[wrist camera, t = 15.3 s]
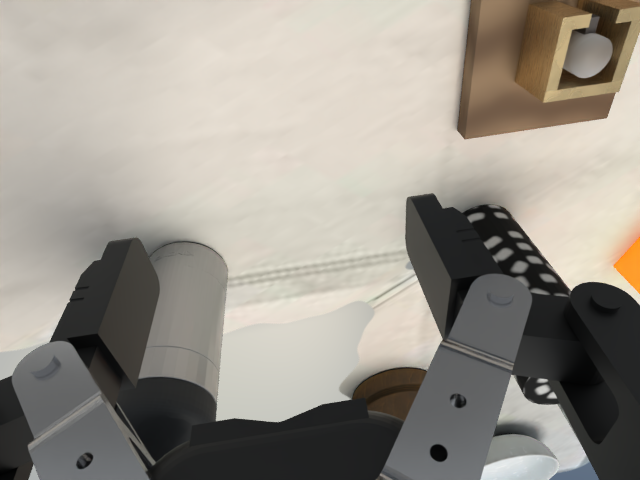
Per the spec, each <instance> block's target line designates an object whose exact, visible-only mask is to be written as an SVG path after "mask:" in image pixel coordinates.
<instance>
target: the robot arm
mask: <svg viewBox="0 0 640 480" xmlns="http://www.w3.org/2000/svg"><path fill="white" fill-rule="evenodd" d="M405 239H406V248H407V252H408V256H409V258H410V261H411V263H412V265H413V268H414V271H415V273H416V275H417V278H418V280H419V283H420V285H421V288H422V290H423V292H424V295H425V297H426V300H427V302H428V304H429V307H430V309H431V312H432V314H433V317H434V319H435V321H436V324H437V326H438V329H439V331H440V334H441V336H442V338H443V340H442V341H441V343H440V345H439V347H438V349H437V351H436V353H435V355H434V358H433V360H432V362H431V364H430V366H429V369H428V371H427V373H426V375H425V378H424V380H423V382H422V384H421V386H420V389H419V391H418V393H417V395H416V397H415V400H414V402H413V404H412V406H411V408H410V411H409V413H408V415H407V417H406V420H405V421H403V420H401V419H399V418H397V417H395V416H392V415H389V414H386V413H381V412H377V411H369V410H368V409H367V405H366V400H365V398H360V399H354V400H348V401H341V402H335V403H329V404H323V405H320V406H318V407H316V408H313V409H311V410H308V411H306V412H304V413H301V414H299V415H297V416H294V417H292V418H290V419H287V420H285V421H282V422H266V421H256V420H245V419H229V420H222V421H216V410H217V395H218V384H219V383H218V382H219V369H220V358H221V347H222V336H223V324H224V313H225V301H226V291H227V280H228V270H227V266H226V264H225V262H224V261H223V259H222V258H221V257H220V256H219V255H218V254H217V253H216V252H214V251H213V250H211V249H210V248H207V247H205V246H203V245H199V244H195V243H188V242H180V243H172V244H168V245H166V246H163V247H161V248H159V249H158V250H157V251H155V252H154V253H153V254H152V255H151V257H150V258H149V257H148V255H147V253H146V251H145V249H144V246H143V244H142V243H141V241H140V240H139V239H138V238H129V239H123V240H116V241H110V242H109V243H108V245H107V247H106V249H105V251H104V253H103V256H102V258H101V260H98V261H94V262H93V263H92V264H91V265H90V266H89V267H88V268H87V269H86V270H85V271H84V272H83V273H82V274H81V276H80V279H79V281H78V283H77V285H76V287H75V291H73V293H72V296H71V298H70V302H69V303H68V304H67V306H66V308H65V310H64V312H63V315H62V317H61V319H60V321H59V323H58V325H57V327H56V329H55V332H54V334H53V336H52V338H51V340H50V342H49V343H47V344H45V345H42V346H40V347H38V348H37V349H35V350H33V351H32V352H30V353H29V354H28V355H27V356H25V357H24V358H23V359H22V360H21V362H20V363H19V364H18V365H17V367H16V368H15V371H14V373H13V375H12V376H10V377H8V378H5V379H3V380H0V480H28V479H29V476H30V473H31V470H32V467H33V464H34V466H35V468H36V471H37V473H38V476H39V479H40V480H480V479H481V476H482V472H483V469H484V465H485V462H486V459H487V455H488V452H489V448H490V445H491V442H492V438H493V435H494V431H495V428H496V425H497V421H498V418H499V414H500V411H501V407H502V404H503V401H504V397H505V394H506V390H507V387H508V384H509V380H510V377H511V375H518V376H525V377H533V378H540V379H547V380H548V382H549V384H550V386H551V388H552V390H553V391H554V393H555V395H556V397H557V399H558V401H559V403H560V405H561V407H562V409H563V411H564V413H565V414H566V416H567V418H568V420H569V422H570V424H571V426H572V428H573V430H574V432H575V434H576V436H577V438H578V439H579V441H580V443H581V445H582V447H583V449H584V451H585V453H586V455H587V457H588V459H589V461H590V463H591V464H592V466H593V468H594V470H595V472H596V474H597V476H598V478H599V480H640V305H639V304H638V303H637V302H636V301H635V300H634V299H633V298H632V297H631V296H630V295H629V294H628V293H626V292H625V291H623V290H621V289H619V288H617V287H615V286H612V285H609V284H605V283H599V282H587V283H582V284H579V285H578V286H576V287H575V288H574V289H573V290H572V291H571V293H570V296H569V297H567V296H556V295H545V294H537V293H533V292H530V291H529V289H528V288H527V287H526V286H525V285H524V284H523V283H522V282H520V281H519V280H517V279H515V278H513V277H510V276H507V275H504V274H503V272H502V271H501V269H500V268H499V266H498V264H497V263H496V261H495V260H494V258H493V257H492V255H491V254H490V252H489V250H488V249H487V247H486V246H485V244H484V243H483V241H482V240H480V237H479V235H478V233H477V232H476V230H474V227H473V226H472V224H471V223H470V221H469V219H468V218H467V216H465V215H464V214H462V213H461V212H459V211H458V210H456V209H455V208H453V207H451V208H444V209H443V208H442V207H441V205H440V203H439V201H438V200H437V198H436V196H435V195H434V194H433V193H431V194H424V195H418V196H411V197H408V198H407V202H406V234H405Z"/></svg>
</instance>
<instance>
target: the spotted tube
mask: <svg viewBox="0 0 640 480" xmlns="http://www.w3.org/2000/svg"><path fill="white" fill-rule="evenodd" d="M463 214H464V215H465V216H467V218H468V219H469V221H470V223H471V224H472V226H473V227H474V230H476V232H477V233H478V235H479V237H480V240H482V241H483V243H484V244H485V246H486V247H487V249H488V250H489V252H490V254H491V255H492V257H493V258H494V260H495V261H496V263H497V264H498V266H499V268H500V269H501V271H502V272H503V274H504V275H507V276H510V277H513V278H515V279H517V280H519V281H520V282H522V283H523V284H524V285H525V286H526V287H527V288H528V289H529V291H530V292H533V293H537V294H545V295H556V296H567V297H569V296H570V293H571V290H570V289H569V288H568V287H567V285H566V284H565V283H564V282H563V280H562V279H561V278H560V276H559V275H558V274H557V273H556V271H555V270H554V269H553V268H552V266H551V265H550V264H549V263H548V261H547V260H546V259H545V257H544V256H543V255H542V254H541V252H540V251H539V250H538V249H537V247H536V246H535V245H534V243H533V242H532V241H531V240H530V238H529V237H528V236H527V235H526V233H525V232H524V231H523V229H522V228H521V227H520V226H519V224H518V223H517V222H516V221H515V219H514V218H513V217H512V215H511V214H510V213H509V212H508V211H507V210H506V209H505V208H502V207H500V206H496V205H482V206H478V207H475V208H472V209H470V210H468V211H466V212H464V213H463ZM514 377H515V379H516V381H517V383H518V385H519V387H520V388H521V390H522V392H523V394H524V396H525V397H526V398H527V399H528V400H529V401H531V402H533V403H537V404H544V405H551V404H560V403H559V401H558V399H557V397H556V395H555V393H554V391H553V390H552V388H551V386H550V384H549V382H548V380H547V379H540V378H533V377H525V376H518V375H514Z"/></svg>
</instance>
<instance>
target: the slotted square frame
mask: <svg viewBox="0 0 640 480" xmlns="http://www.w3.org/2000/svg"><path fill="white" fill-rule="evenodd" d="M592 14H594V15H597V16H600V18H599V21H598V25H597V28H596V32H595V33H596V34H599V35H601V36H603V37H606V38H608V39H609V40H610V41H611V43H612V47H613V50H612V55H611V58H610V60H609V62H608V63H607V65H606V66H605V67H604V68H603V69H602V70H601V71H600V72H599V73H597V74H596V75H594V76H592V77H588V78H579V77H577V76H575V75H574V74H572V73H570V72H568V71H567V70H565V69H563V65H564V61H565V57H566V53H567V49H568V45H569V41H570V37H571V33H572V30H574V29H581V28H588V27H589V24H590V20H591V16H592ZM639 32H640V3H638V2H634V1H631V0H578V3H577V7H576V8H575V7H572V6H569V5H566V4H564V3H561V2H558V1H555V0H553V1H546V2H539V3H532V4H529V5H528V11H527V16H526V22H525V27H524V32H523V38H522V43H521V49H520V54H519V59H518V65H517V70H516V76H515V81H514V82H515V83H517V84H518V85H519V86H521V87H522V88H524V89H525V90H526V91H528V92H529V93H530V94H532V95H533V96H535V97H536V98H537V99H539V100H540V101H541V102H543V103H546V102H553V101H560V100H566V99H573V98H580V97H587V96H594V95H600V94H607V93H614V92H619V90H620V87H621V84H622V81H623V79H624V76H625V73H626V70H627V67H628V64H629V61H630V58H631V55H632V52H633V50H634V47H635V44H636V41H637V38H638V35H639Z"/></svg>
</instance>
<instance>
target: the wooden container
mask: <svg viewBox="0 0 640 480" xmlns="http://www.w3.org/2000/svg"><path fill="white" fill-rule="evenodd" d="M426 373H427V372H426V371H424V370H420V369H412V368H402V369H394V370H389V371H385V372H382V373H379V374H377V375H375V376H372V377H371V378H369V379H367V380H366V381H364V382H363V383H361V384H360V385H359V386H358V387H357V389H356V390H355V392H354V394H353V400H354V399H360V398H365V400H366V405H367V409H368V410H369V411H377V412H381V413H386V414H389V415H392V416H395V417H397V418H399V419H401V420H403V421H405V420H406V417H407V415H408V413H409V411H410V408H411V406H412V404H413V402H414V400H415V397H416V395H417V393H418V391H419V389H420V386H421V384H422V382H423V380H424V378H425V375H426Z"/></svg>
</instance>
